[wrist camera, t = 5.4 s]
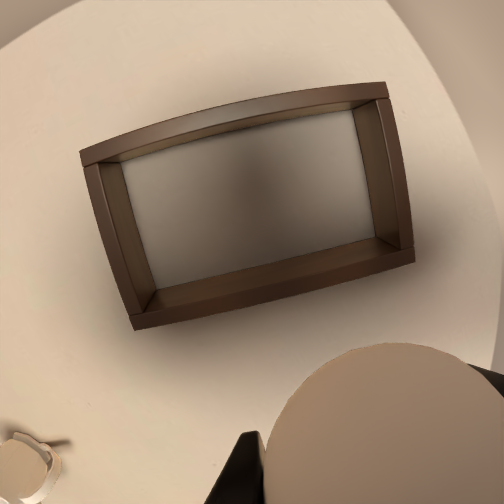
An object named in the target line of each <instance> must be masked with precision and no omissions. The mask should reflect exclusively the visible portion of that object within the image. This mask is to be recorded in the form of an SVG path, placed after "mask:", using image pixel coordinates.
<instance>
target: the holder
mask: <svg viewBox="0 0 504 504" xmlns="http://www.w3.org/2000/svg"><path fill="white" fill-rule="evenodd" d="M349 109H353V115H354V119H355V123H356V127H357V132H358V136H359V141H360V146H361V151H362V155H363V160H364V166H365V171H366V176H367V182H368V188H369V194H370V200H371V206H372V213H373V220H374V227H375V234H376V237H374V238H370V239H366V240H362V241H359V242H355V243H351V244H347V245H343V246H339V247H335V248H331V249H327V250H323V251H319V252H315V253H311V254H306V255H302V256H298V257H294V258H290V259H286V260H282V261H278V262H274V263H270V264H265V265H261V266H257V267H253V268H249V269H245V270H241V271H236V272H232V273H228V274H224V275H219V276H215V277H211V278H207V279H202V280H198V281H194V282H190V283H185V284H181V285H177V286H172V287H168V288H164V289H159V290H156V287H155V284H154V281H153V278H152V275H151V272H150V269H149V266H148V263H147V260H146V257H145V253H144V250H143V247H142V244H141V240H140V237H139V233H138V230H137V227H136V223H135V220H134V216H133V212H132V209H131V205H130V201H129V198H128V194H127V190H126V186H125V182H124V178H123V174H122V170H121V166H120V162H123V161H126V160H129V159H132V158H135V157H138V156H141V155H144V154H147V153H151V152H154V151H157V150H161V149H164V148H167V147H171V146H174V145H178V144H181V143H185V142H189V141H192V140H196V139H200V138H204V137H207V136H211V135H215V134H220V133H224V132H228V131H232V130H236V129H241V128H245V127H250V126H255V125H259V124H264V123H269V122H274V121H280V120H285V119H290V118H296V117H302V116H308V115H314V114H320V113H327V112H334V111H341V110H349ZM79 153H80V158H81V162H82V166H83V167H84V168H83V170H84V175H85V179H86V183H87V187H88V191H89V195H90V199H91V203H92V207H93V210H94V214H95V217H96V221H97V224H98V228H99V231H100V235H101V238H102V241H103V244H104V248H105V251H106V254H107V257H108V260H109V263H110V266H111V269H112V272H113V275H114V278H115V281H116V283H117V286H118V289H119V292H120V295H121V297H122V300H123V303H124V305H125V308H126V311H127V313H128V315H129V319H130V321H131V324H132V326H133V329H134V331H136V330H142V329H147V328H152V327H157V326H162V325H167V324H172V323H177V322H182V321H187V320H191V319H196V318H201V317H205V316H210V315H214V314H219V313H223V312H228V311H232V310H237V309H241V308H245V307H250V306H254V305H258V304H262V303H266V302H271V301H275V300H279V299H283V298H287V297H291V296H295V295H299V294H303V293H306V292H310V291H314V290H318V289H322V288H326V287H329V286H333V285H337V284H341V283H344V282H348V281H351V280H355V279H359V278H362V277H366V276H369V275H373V274H376V273H380V272H383V271H387V270H390V269H394V268H397V267H400V266H404V265H407V264H410V263H414V262H415V249H414V239H413V229H412V219H411V210H410V202H409V195H408V188H407V181H406V175H405V168H404V163H403V157H402V152H401V146H400V141H399V136H398V131H397V127H396V122H395V118H394V113H393V109H392V105H391V101H390V99H389V93H388V89H387V85H386V82H370V83H357V84H347V85H337V86H328V87H320V88H313V89H306V90H299V91H292V92H286V93H280V94H275V95H269V96H264V97H259V98H254V99H249V100H244V101H239V102H235V103H230V104H226V105H221V106H217V107H213V108H209V109H205V110H201V111H197V112H194V113H190V114H186V115H183V116H179V117H175V118H172V119H169V120H165V121H162V122H159V123H155V124H152V125H149V126H146V127H143V128H140V129H137V130H134V131H131V132H128V133H125V134H122V135H119V136H116V137H114V138H111V139H108V140H105V141H103V142H100V143H98V144H95V145H92V146H90V147H87V148H85V149H82V150H80V151H79Z"/></svg>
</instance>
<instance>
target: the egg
mask: <svg viewBox="0 0 504 504" xmlns="http://www.w3.org/2000/svg"><path fill="white" fill-rule="evenodd" d="M263 501H264V504H504V398H503V396H502V395H501V394H500V393H499V392H498V391H497V390H496V389H495V388H494V387H493V386H492V385H491V383H490V382H489V381H488V380H487V379H486V378H485V377H484V376H483V375H482V374H481V373H479V372H478V371H476V370H475V369H474V368H472V367H471V366H469V365H468V364H466V363H464V362H463V361H461V360H460V359H458V358H457V357H455V356H453V355H450V354H448V353H445V352H442V351H440V350H437V349H434V348H431V347H427V346H421V345H415V344H410V343H383V344H378V345H373V346H369V347H364V348H360V349H355V350H351V351H349V352H347V353H345V354H343V355H341V356H339V357H337V358H335V359H333V360H331V361H329V362H327V363H326V364H325V365H323V366H322V367H321V368H320V369H318V370H317V371H316V372H314V373H313V374H312V375H310V376H309V377H308V378H307V379H306V380H305V381H304V382H303V384H302V385H301V386H300V387H299V388H298V389H297V390H296V392H295V393H294V394H293V395H292V396H291V397H290V398H289V400H288V402H287V403H286V405H285V407H284V409H283V410H282V412H281V414H280V415H279V417H278V419H277V420H276V423H275V425H274V427H273V430H272V432H271V435H270V437H269V440H268V443H267V448H266V453H265V459H264V469H263Z"/></svg>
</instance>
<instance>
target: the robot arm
mask: <svg viewBox="0 0 504 504" xmlns="http://www.w3.org/2000/svg"><path fill="white" fill-rule="evenodd" d="M466 364H467V363H466ZM468 365H469V366H471V367H472V368H474V369H475V370H476V371H478V372H479V373H481V374H482V375H483V376H484V377H485V378H486V379H487V380H488V381H489V382H490V383H491V385H492V386H493V387H494V388H495V389H496V390H497V391H498V392H499V393H500V394H501V395H502V396H503V398H504V375H502V374H499V373H496V372H493V371H490V370H486V369H483V368H480V367H477V366H474V365H471V364H468ZM265 453H266V451H265V448H264V445H263V442H262V439H261V436H260V433H259V432H258V431H250V432H244V433H242V434H241V435H240V437H239V439H238V441H237V443H236V445H235V447H234V449H233V451H232V453H231V454H230V456H229V458H228V460H227V462H226V464H225V466H224V468H223V470H222V472H221V473H220V475H219V477H218V479H217V481H216V483H215V484H214V486H213V488H212V490H211V492H210V494H209V495H208V497H207V499H206V501H205V502H204V504H264V501H263V469H264V459H265Z"/></svg>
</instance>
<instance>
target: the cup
mask: <svg viewBox="0 0 504 504" xmlns="http://www.w3.org/2000/svg"><path fill="white" fill-rule="evenodd" d="M47 451H49V452H50V453H51V455H52V458H53V462H52V467H51V469H50V471H49V473H48V475H47V463H48V462H49V461H50V459H51V457H50V456H49V454H48V453H47ZM61 467H62V463H61V459H60V458H59V456H58V455H57V454H56V453H55V452H54V451H53V450H52V449H51V448H50V447H49V446H48V445H47V444H45V443H38V442H37V441H36V440H34V439H33V438H32V437H30V436H29V435H27V434H23V433H19V432H15V433H14V435H13V437H12V439H9V440H7V441H6V442H5V443H3V444H2V445H1V446H0V504H41V500H42V499H43V498H45V497H46V496H47V495H48V494H49V492H50V491H51V489H52V488H53V486H54V484H55V483H56V481H57V479H58V477H59V475H60V472H61ZM46 475H47V477H46Z"/></svg>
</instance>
